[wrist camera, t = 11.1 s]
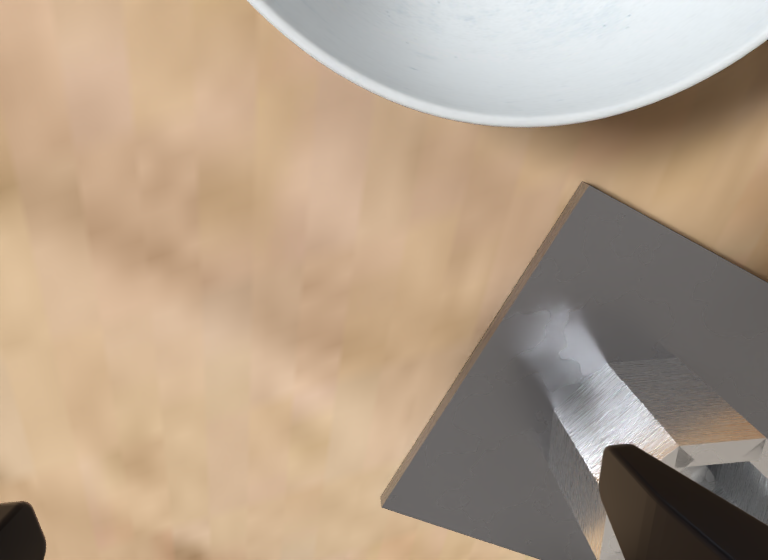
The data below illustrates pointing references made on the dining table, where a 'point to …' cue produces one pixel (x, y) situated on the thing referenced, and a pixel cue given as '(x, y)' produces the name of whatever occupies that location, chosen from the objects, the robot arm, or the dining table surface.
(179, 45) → the dining table surface
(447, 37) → the chinaware
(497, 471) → the duct stub
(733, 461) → the collar
